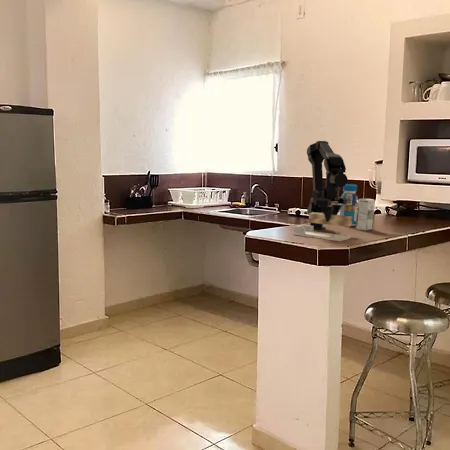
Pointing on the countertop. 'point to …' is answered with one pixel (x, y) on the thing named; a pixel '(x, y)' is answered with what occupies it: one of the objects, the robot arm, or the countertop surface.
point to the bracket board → (317, 233)
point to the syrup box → (365, 214)
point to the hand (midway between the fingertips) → (330, 221)
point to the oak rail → (333, 220)
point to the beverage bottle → (350, 202)
